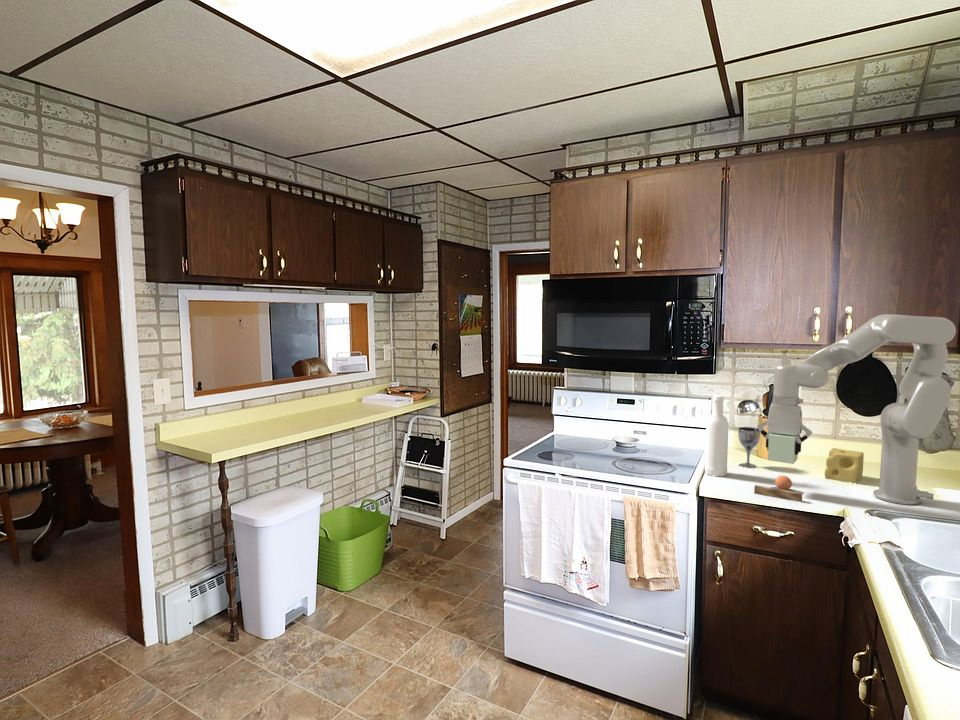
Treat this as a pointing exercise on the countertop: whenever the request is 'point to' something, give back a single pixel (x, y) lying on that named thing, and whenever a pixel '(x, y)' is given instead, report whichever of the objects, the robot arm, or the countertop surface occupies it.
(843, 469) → the cheese
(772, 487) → the spot
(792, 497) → the brown wooden bar
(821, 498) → the countertop surface
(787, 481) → the ball
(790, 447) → the pale green cube
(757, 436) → the wine glass
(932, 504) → the countertop surface
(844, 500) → the countertop surface
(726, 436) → the bottle
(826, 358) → the robot arm
